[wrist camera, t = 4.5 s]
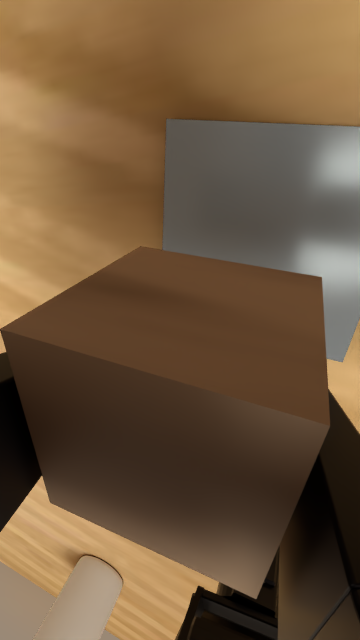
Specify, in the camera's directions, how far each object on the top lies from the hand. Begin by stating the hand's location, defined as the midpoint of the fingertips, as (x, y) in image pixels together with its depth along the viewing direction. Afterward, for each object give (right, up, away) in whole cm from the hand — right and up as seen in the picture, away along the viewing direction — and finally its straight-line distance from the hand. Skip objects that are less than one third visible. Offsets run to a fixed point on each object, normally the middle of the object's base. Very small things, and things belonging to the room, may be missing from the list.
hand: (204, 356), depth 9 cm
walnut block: (0, 0, +1) cm, 1 cm away
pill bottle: (-13, -38, +40) cm, 57 cm away
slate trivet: (+4, +5, +9) cm, 12 cm away
